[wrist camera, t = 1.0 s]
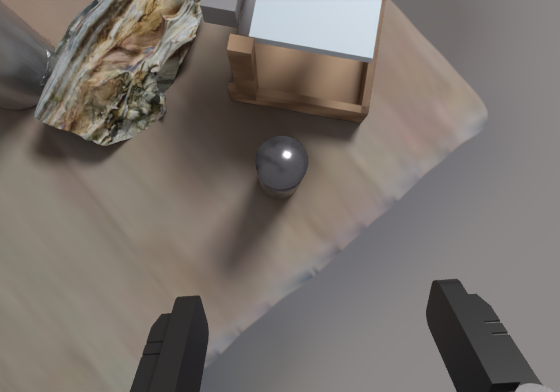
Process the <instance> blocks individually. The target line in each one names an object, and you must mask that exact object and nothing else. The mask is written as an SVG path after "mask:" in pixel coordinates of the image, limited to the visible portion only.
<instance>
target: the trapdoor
mask: <svg viewBox="0 0 560 392" xmlns="http://www.w3.org/2000/svg"><path fill="white" fill-rule="evenodd" d="M381 2H382V0H244V3H243V0H201V1H200V8H201V11H202V15H203V18H204V21H205V22H207V23H213V24H218V25H224V26H230V27H235V28H238V25H239V28H238V33H237V35H240V36H246V37H251V38H254V42H256V43H261V44H267V45H273V46H278V47H284V48H290V49H295V50H301V51H306V52H312V53H318V54H323V55H329V56H334V57H340V58H346V59H351V60H357V61H362V62H368V63H370V62H371V61H372V59H373V54H374V47H375V41H376V35H377V28H378V22H379V15H380V9H381ZM242 5H243V8H242ZM241 10H242V13H241ZM240 15H241V18H240ZM239 20H240V23H239Z"/></svg>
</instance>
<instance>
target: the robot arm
mask: <svg viewBox="0 0 560 392" xmlns="http://www.w3.org/2000/svg"><path fill="white" fill-rule="evenodd" d="M58 60H59V59H58V57H57V55H56V54H55V49H54V47H53V46H52V45H51V44H50V43H49V42H48V41H47V40H46V39H45V38H44V37H43V36H41V35H40V34H39V33H38V32H37V31H36V30H34V29H33V28H32V27H31V26H30V25H29V24H27V23H26V22H25V21H24V20H23V19H22V18H21V17H19V16H18V15H17V14H16V13H15V12H14V11H12V10H11V9H10V8H9V7H8V6H7V5H5V4H4V3H3V2H2V1H1V0H0V107H2V108H6V109H11V110H22V109H26V108H30V107H33V106H35V105H37V104H38V103H39V100H40V98H41V95H42V92H43V89H44V87H45V85H46V83H47V81H48V79H49V78H50V76H51V74H52V72H53V70H54V68H55V66H56V64H57V62H58ZM426 317H427V322H428V326H429V329H430V331H431V334H432V336H433V338H434V340H435V343H436V345H437V347H438V350H439V352H440V354H441V356H442V359H443V361H444V363H445V365H446V368H447V370H448V373H449V375H450V377H451V379H452V381H453V384H454V386H455V388H456V391H457V392H555V391H553V390H551V389H549V388H548V387H545V386H543V385H542V384H541V382H540V381H539V379H538V378H537V377H536V375H535V374H534V372H533V370H532V369H531V367H530V366H529V364H528V363H527V361H526V360H525V358H524V357H523V355H522V354H521V352H520V350H519V349H518V347H517V346H516V344H515V343H514V341H513V340H512V338H511V336H510V335H508V333H507V330H506V329H505V327H504V326H503V324H502V323H500V320H499V318H498V316H497V315H496V313H495V312H494V310H493V309H492V307H491V306H490V305H489V304H488V303H487V302H485V301H484V300H483V299H482V298H481V297H479V296H478V295H477V294H468V293H467V292H466V290H465V289H464V287H463V285H462V284H461V282H460V281H459V280H458V279H448V280H435V281H433V282H432V286H431V290H430V295H429V300H428V304H427V309H426ZM208 336H209V330H208V323H207V319H206V315H205V312H204V308H203V305H202V301H201V298H200V296H199V295H198V296H183V297H177V298H176V300H175V303H174V306H173V310H172V313H168V314H161V315H160V317H159V318H158V319H157V321H156V322H155V323H154V324H153V326H152V327H151V330H150V333H149V336H148V339H147V344H146V345H145V348H144V351H143V356H142V357H141V360H140V363H139V366H138V369H137V372H136V375H135V378H134V381H133V384H132V387H131V390H130V392H200V386H201V380H202V375H203V369H204V363H205V357H206V351H207V345H208Z"/></svg>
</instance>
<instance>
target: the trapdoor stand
mask: <svg viewBox="0 0 560 392" xmlns="http://www.w3.org/2000/svg"><path fill="white" fill-rule="evenodd" d="M385 2H386V0H382V2H381V9H380V15H379V22H378V28H377V35H376V41H375V47H374V54H373V59H372V61H371V62H370V63H368V62H362V61H357V60H351V59H346V58H340V57H334V56H329V55H323V54H318V53H312V52H306V51H301V50H295V49H290V48H284V47H278V46H273V45H267V44H261V43H256V42H254V38H251V37H246V36H240V35H235V34H230V36H229V41H228V46H227V53H228V57H229V61H230V65H231V69H232V73H233V77H234V78H233V83H232V82H229V85H228V92H229V95H230V98H231V100H235V101H240V102H246V103H252V104H257V105H263V106H268V107H274V108H280V109H285V110H291V111H296V112H302V113H308V114H313V115H319V116H325V117H330V118H336V119H341V120H347V121H353V122H358V123H362V121H363V120H364V119H365V118H366V116H367V115H368V112H369V105H370V99H371V92H372V86H373V79H374V73H375V67H376V60H377V54H378V47H379V41H380V34H381V28H382V21H383V15H384V8H385Z"/></svg>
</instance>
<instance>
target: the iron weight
mask: <svg viewBox="0 0 560 392" xmlns="http://www.w3.org/2000/svg"><path fill="white" fill-rule="evenodd" d="M255 163H256V169H257V173H258V177H259V181H260V185H261V188H262V189H263V191H264V192H265V193H266V194H267V195H268V196H270V197H272V198H275V199H284V198H287V197H289V196H291V195H292V194H293V193H294V192H295V191H296V189H297V188H298V186H299V184H300V182H301V180H302V178H303V177H304V175H305V173H306V171H307V167H308V156H307V153H306V150H305V149H304V147H303V146H302V144H301V143H300V142H298V141H297V140H296V139H294V138H291V137H288V136H275V137H272V138H270V139H268V140H266V141H265V142H264V143H263V144H262V145H261V146H260V148H259V149H258V151H257V154H256V160H255Z"/></svg>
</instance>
